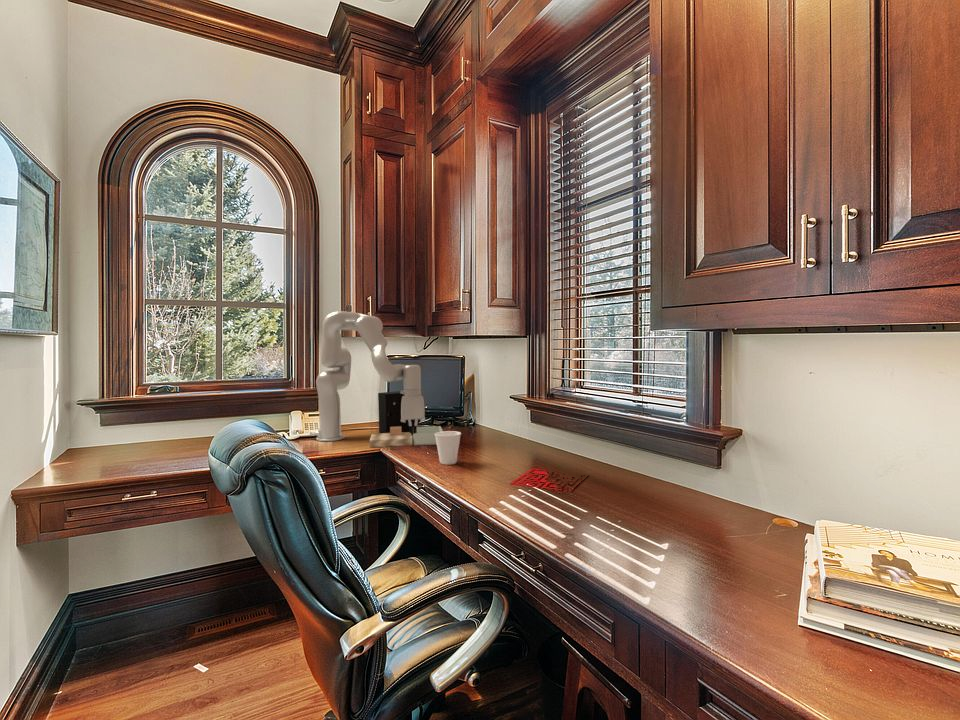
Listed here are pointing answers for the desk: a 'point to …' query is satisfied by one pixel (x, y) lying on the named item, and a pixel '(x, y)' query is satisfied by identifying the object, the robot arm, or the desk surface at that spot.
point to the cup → (448, 446)
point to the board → (390, 440)
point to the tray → (426, 435)
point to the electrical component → (391, 412)
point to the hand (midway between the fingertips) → (413, 434)
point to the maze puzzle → (534, 479)
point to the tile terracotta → (395, 430)
